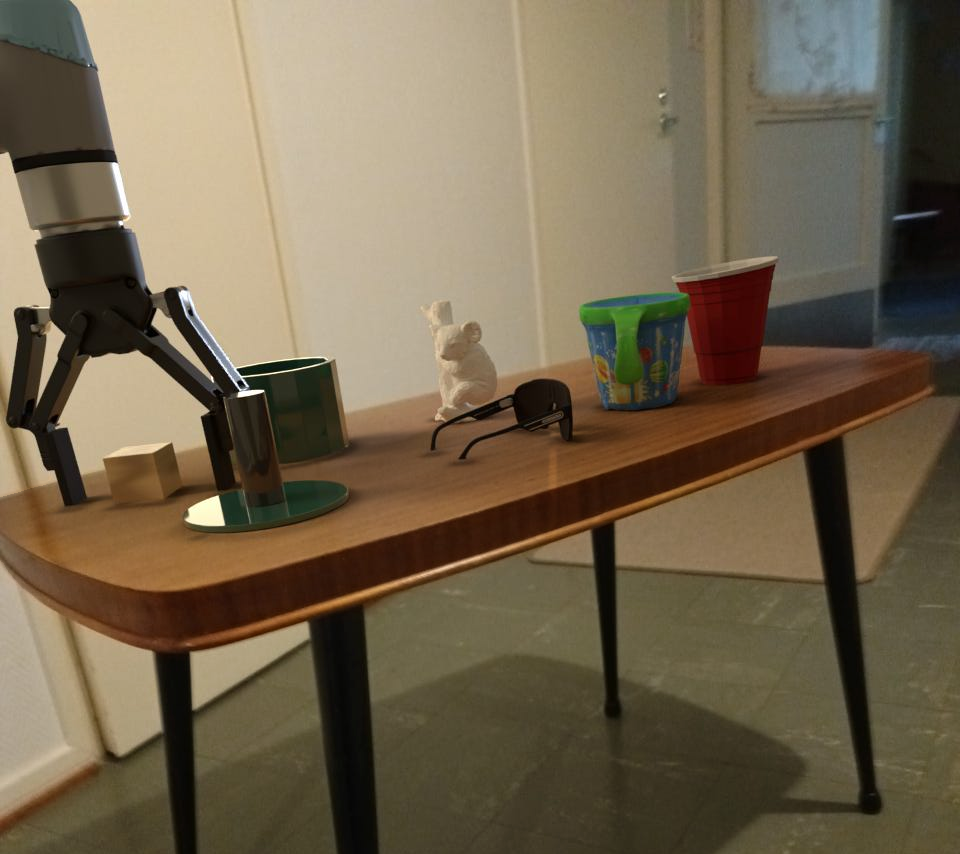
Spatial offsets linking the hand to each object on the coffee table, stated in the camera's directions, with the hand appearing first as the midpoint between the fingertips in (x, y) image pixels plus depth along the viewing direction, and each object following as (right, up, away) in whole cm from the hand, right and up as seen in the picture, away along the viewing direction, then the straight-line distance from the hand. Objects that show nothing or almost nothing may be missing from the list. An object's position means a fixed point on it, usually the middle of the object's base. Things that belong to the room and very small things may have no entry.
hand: (152, 498), depth 84 cm
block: (0, 0, 0) cm, 0 cm away
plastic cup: (+55, +16, +22) cm, 61 cm away
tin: (+10, +6, +11) cm, 16 cm away
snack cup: (+44, +11, +15) cm, 48 cm away
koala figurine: (+26, +11, +18) cm, 34 cm away
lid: (+12, -2, -10) cm, 16 cm away
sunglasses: (+30, +5, +3) cm, 31 cm away
